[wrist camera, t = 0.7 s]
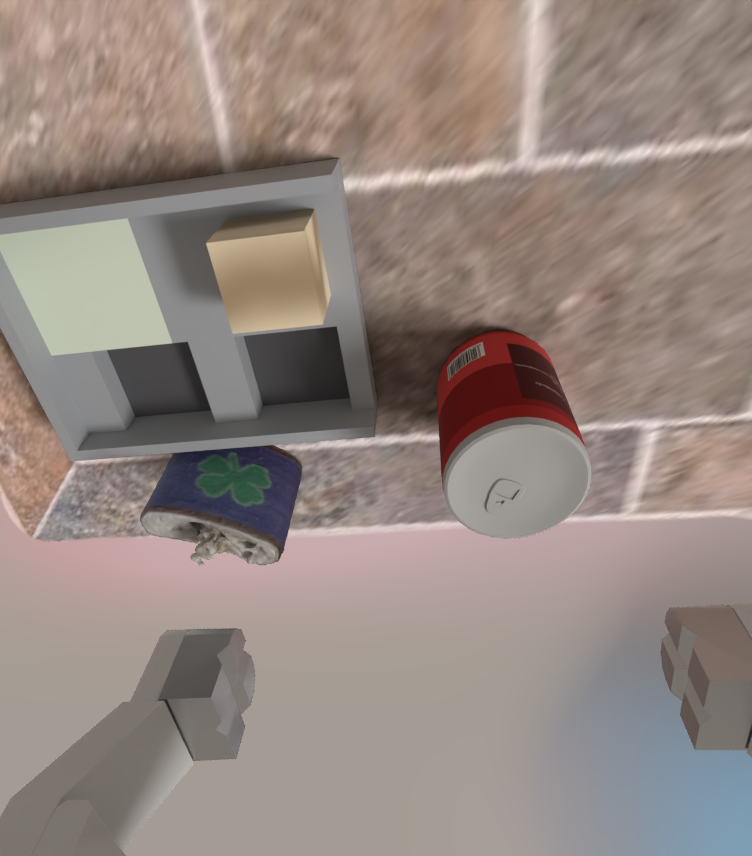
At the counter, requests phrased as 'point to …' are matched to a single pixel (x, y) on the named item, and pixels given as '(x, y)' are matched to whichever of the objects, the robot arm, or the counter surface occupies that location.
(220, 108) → the counter surface
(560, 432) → the canned food
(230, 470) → the flask
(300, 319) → the maple block
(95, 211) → the grey compartment tray
